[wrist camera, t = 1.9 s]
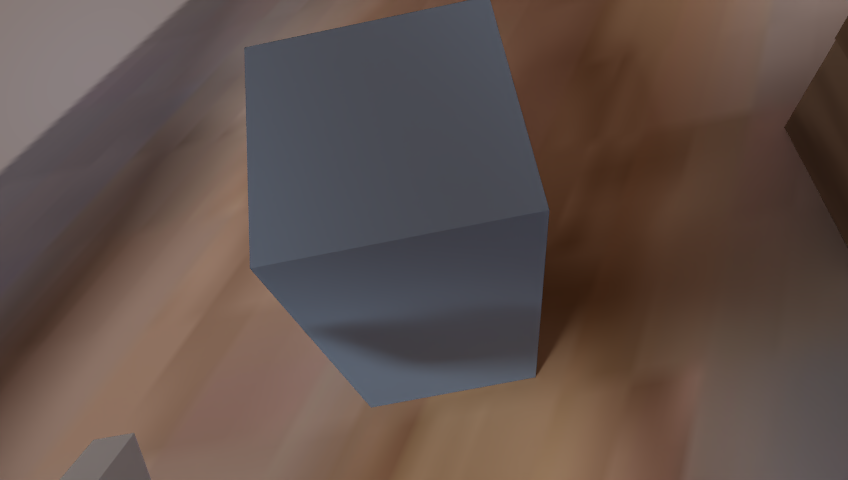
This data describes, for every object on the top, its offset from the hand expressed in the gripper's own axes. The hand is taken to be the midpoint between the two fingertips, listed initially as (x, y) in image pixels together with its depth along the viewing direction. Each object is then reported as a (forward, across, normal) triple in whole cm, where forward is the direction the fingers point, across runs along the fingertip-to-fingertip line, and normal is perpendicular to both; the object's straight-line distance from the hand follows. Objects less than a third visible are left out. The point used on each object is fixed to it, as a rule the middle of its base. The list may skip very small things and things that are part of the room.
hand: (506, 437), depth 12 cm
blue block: (+13, -2, -3) cm, 13 cm away
